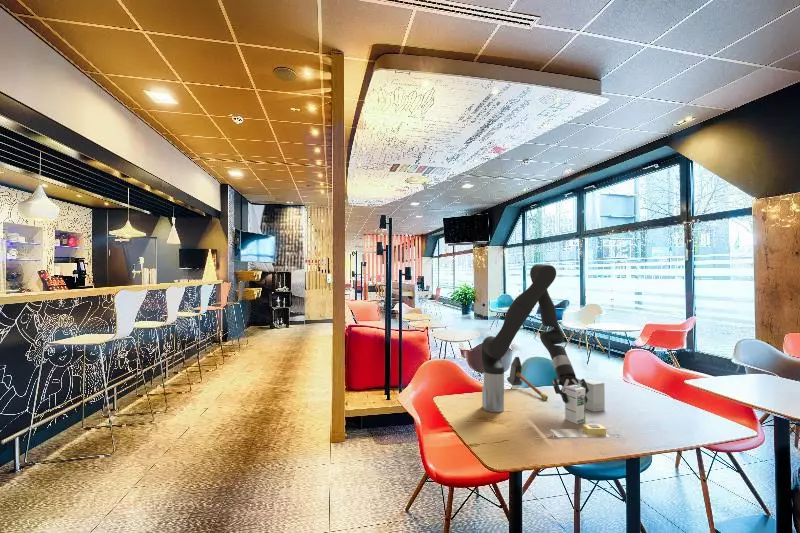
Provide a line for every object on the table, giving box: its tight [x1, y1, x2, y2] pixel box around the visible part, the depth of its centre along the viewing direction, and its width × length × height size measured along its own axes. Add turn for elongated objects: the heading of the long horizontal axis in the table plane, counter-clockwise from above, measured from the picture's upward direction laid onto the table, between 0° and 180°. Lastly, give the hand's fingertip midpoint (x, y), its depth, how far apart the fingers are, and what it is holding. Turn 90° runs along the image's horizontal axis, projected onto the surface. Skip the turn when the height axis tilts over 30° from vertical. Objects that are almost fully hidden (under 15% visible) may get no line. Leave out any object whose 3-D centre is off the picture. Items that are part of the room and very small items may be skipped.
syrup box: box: [564, 385, 586, 425], centre depth 154 cm, size 6×6×14 cm
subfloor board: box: [549, 428, 610, 438], centre depth 142 cm, size 20×14×1 cm
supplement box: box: [584, 378, 606, 413], centre depth 172 cm, size 7×7×13 cm
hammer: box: [506, 356, 549, 401], centre depth 196 cm, size 6×16×30 cm
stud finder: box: [582, 423, 607, 435], centre depth 142 cm, size 7×4×3 cm, turn 92°
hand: (576, 402), depth 153 cm, fingers closed on syrup box, 7 cm apart
